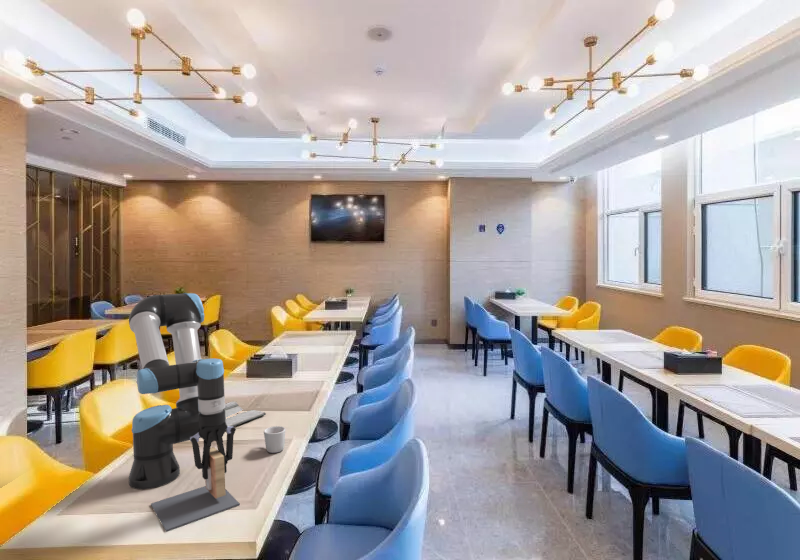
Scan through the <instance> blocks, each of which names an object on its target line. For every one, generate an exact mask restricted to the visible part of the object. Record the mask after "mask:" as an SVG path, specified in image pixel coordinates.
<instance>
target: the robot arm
mask: <svg viewBox="0 0 800 560" xmlns="http://www.w3.org/2000/svg"><path fill="white" fill-rule="evenodd" d="M204 311H205V308H204V306H203V302H202V300H201V297H200V296H199V295H198V294H197V293H190V292H189V293H187V292H183V293H171V294H170V293H169V294H157V295H155V294H154V295H150V296H149V295H148V296H147V297H145V298H143V299H141V300H140V301H138V302H137V303H136V304H135V305H134V306H133V308H132V309H131V312H130V314H129V317H128V324H129V328H130V331H131V332H132V333H133V334H134V335H135V341H136V345H137V351H138V357H139V360H140V361H139V362H140V364H141V369H139V370H137V372H136V384H137V385H136V386H137V391H138V393H139V394H140V395H147V394H156V393H157V394H158V393H163V392H167V391H174V390H178V391H179V399H178V400H177V401H176V403H175V408H172V407H171V406H170V404H162V405H161V404H159V405H154V406H151V407H148V408H147V407H146V408H144V409H143V410H141V411H139V412H138V413H136V414H135V415H134V416H133V418H132V420H131V421H132V422H131V423H132V427H131V433H132V446H133V448H132V449H133V461H132V465H131V467H130V468H131V469H130V472H129V473H128V474H129V475H128V485H129V487H130V488H132V489H137V490H147V489H154V488H158V487H162V486H165V485H167V484H170V483H171V482H173V481H174V480H176V479H177V478H178V477H180V474H181V469H180V465H179V462H178V460H177V458H176V455H175V453H174V446H173V445H175V444H180V443H183V442H184V443H185V442H188V441H190V443H191V445H192V452H193V459H194V460H193V461H194V466H195V468H196V469H198V470H201V475H202V476H201V477H202V478H203V479H204V480H205V479H206V484H205V486H206V487H207V488H208V490H212V486H211V468H210V467H209V466H208V464H209V455H210V448H211V446H212V443H213V442H216V447H217V448H216V449H217V450H218V451H219V452H220V453H221V454H222V455H223V456H224V468H225V474H226V473H227V470H228V469H227V464H228V463H229V461H231V460H233V456H234V436H235V432H236V430H237V429H236V427H235V426H227V424H226V417H225V410H224V408H225V404H226V400H225V375H224V374H225V369H224V361H223V360H222V359H220V358H215V357H214V358H205V359H204V358H202V354H201V348H200V341H199V334H198V330H199V329H200V328H201V325H202V323H203V322H204V321H205V313H204ZM160 327H166V331H167V332H168V333H169V334H171V336H172V342H173V343H172V344H173V352H174V361H175V364H171V365H170V362H169V359H168V356H167V352H166V347H165V344H164V342H163V341H164V340H163V337H162V335H161V330H160ZM225 432H226V443H225V445H224V440H223V436H224V435H225ZM200 439H202V440H203V442H202V443H203V448H202V458H201V452H200V451H201V450H200V445H199V444H200V443H199V441H200ZM225 446H226V447H225Z"/></svg>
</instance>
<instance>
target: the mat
mask: <svg viewBox="0 0 800 560" xmlns="http://www.w3.org/2000/svg"><path fill="white" fill-rule="evenodd" d="M224 410H225V417H228V416H230V415H232V414H235V413H237V412H239V411H242V410H244V409H243V408H242V407H241V406H240V405H239V403H238V402H237V401H234V400H232V401H230V402H227V403H226V402H225V408H224ZM265 415H267V413H266V412H265V411H261V410H256V409H251V410H247V412H246V411H244V412H242V413H240V414H237V415H236V416H233V417H230V418H227V419H226V424H227V426H233V427H236V426H239V425H241V424H244V423H246V422H249V421H252V420H255V419H257V418H260V417H264V416H265Z"/></svg>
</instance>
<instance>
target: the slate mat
mask: <svg viewBox="0 0 800 560" xmlns="http://www.w3.org/2000/svg"><path fill="white" fill-rule="evenodd" d="M225 492H226V495H225V496H222V497H219V498H216V499H215V498H214V496H213V495H212V494H211V493H210V492H209V491H208V490H207V488H206V485H204V486H201V487H198V488H194V489H191V490H187V491H186V492H181V493H179V494H175V495H173V496H170V497H167V498H163V499H159V500H158V501H154V502H152V503H150V506H151V508H152V509H154V510H153V511H154V513H155V515H156V514H157V515H156V517H157V518H158V519H159V522H160V521H161V522H160V523H161V526H162V527H163V528H164V530H165V532H166V533H167V532H170V531H172V530H174V529H177V528H180V527H181V528H182V527H184V526H186V525H188V524H192V523H194V522H197V521H200V520H203V519H206V518H208V517H211V516H214V515H216V514H219V513H222V512H225V511H227V510H230V509H233V508H236V507H239V506H240V504H241V503H239V501H238V500H237V499H236V498H235V497H234V496H233V495H232V493H230V492H229V491H228V490H227V489H226V488H225Z"/></svg>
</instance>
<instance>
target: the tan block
mask: <svg viewBox="0 0 800 560" xmlns="http://www.w3.org/2000/svg"><path fill="white" fill-rule="evenodd" d="M208 466H209V467H210V468H211V486H212V490H208V488H207V487H206V488H207V490H208V491H209V492H210V493H211V494H212V495H213V496H214V498H215V499H216V498H219V497H222V496H225V495H226V492H225V489H226V473H225V468H224V456H223V455H222V454H221V453H220V452H219V451H218V448H216V447H214V446H213V447H210V455H209V464H208ZM204 481H205V485H206V479H204Z"/></svg>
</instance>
